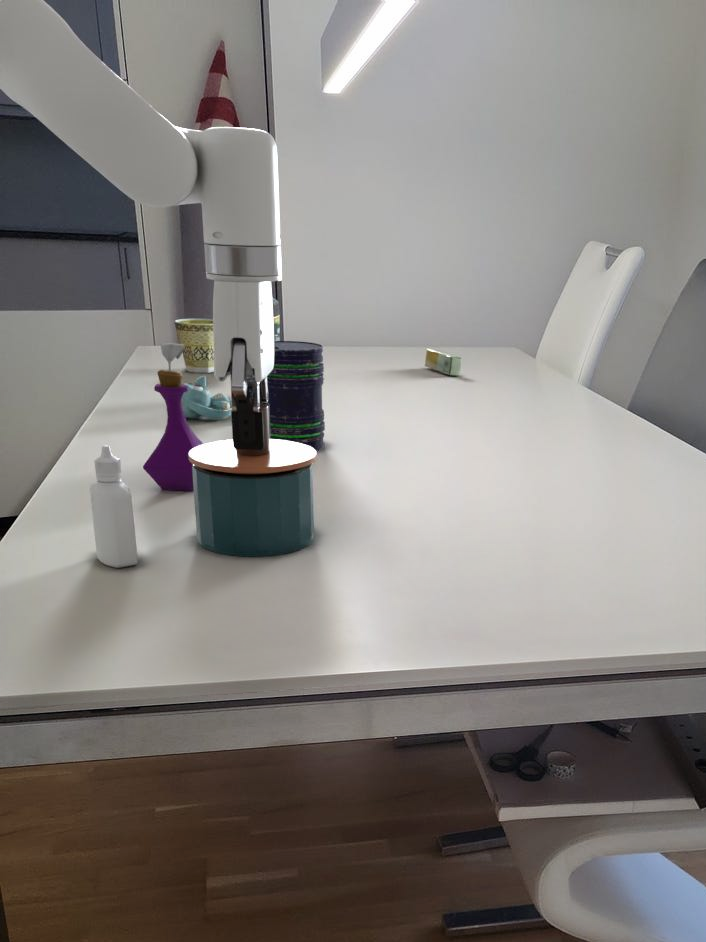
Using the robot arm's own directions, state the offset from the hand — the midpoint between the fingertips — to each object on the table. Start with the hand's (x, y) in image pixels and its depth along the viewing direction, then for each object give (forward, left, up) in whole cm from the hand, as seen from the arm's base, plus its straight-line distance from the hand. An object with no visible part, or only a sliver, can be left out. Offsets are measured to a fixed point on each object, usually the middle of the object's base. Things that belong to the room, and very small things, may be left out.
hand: (252, 442), depth 111 cm
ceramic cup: (-29, +115, -11) cm, 119 cm away
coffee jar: (-13, +84, -11) cm, 86 cm away
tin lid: (0, 0, -2) cm, 2 cm away
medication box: (+21, +123, -11) cm, 125 cm away
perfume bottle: (-13, +21, -11) cm, 27 cm away
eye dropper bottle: (-13, -9, -11) cm, 19 cm away
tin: (0, 0, -11) cm, 11 cm away
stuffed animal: (-19, +66, -11) cm, 70 cm away
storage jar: (-2, +46, -11) cm, 47 cm away
